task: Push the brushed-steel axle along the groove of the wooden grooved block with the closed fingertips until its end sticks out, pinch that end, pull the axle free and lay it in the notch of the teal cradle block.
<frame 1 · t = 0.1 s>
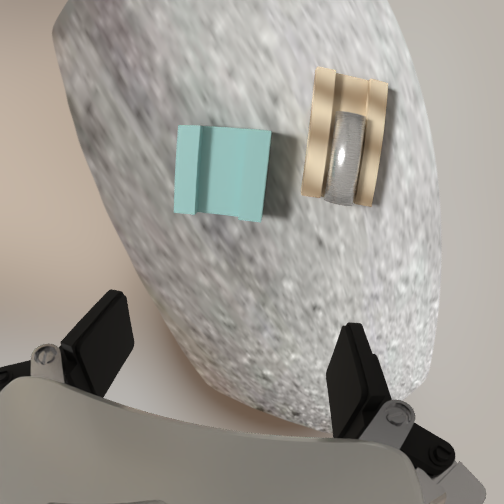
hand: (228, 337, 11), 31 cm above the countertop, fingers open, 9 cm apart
cradle: (225, 169, 39), on the countertop
wooden grooved block: (343, 136, 35), on the countertop
axle: (342, 157, 36), point 1 cm above the countertop, touching wooden grooved block
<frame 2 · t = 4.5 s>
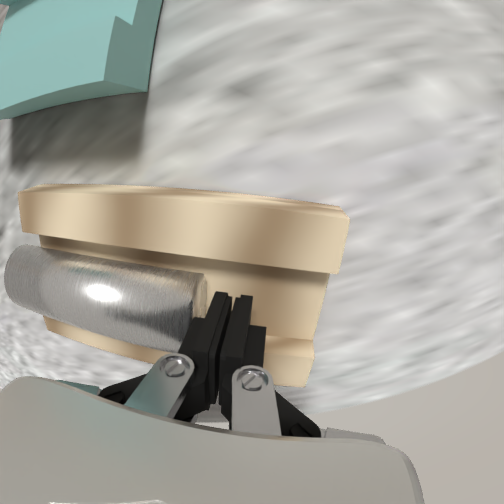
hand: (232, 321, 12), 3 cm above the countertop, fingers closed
cradle: (77, 18, 10), on the countertop
wooden grooved block: (160, 274, 16), on the countertop
axle: (109, 272, 15), point 1 cm above the countertop, tilted 8°, touching wooden grooved block, gripper
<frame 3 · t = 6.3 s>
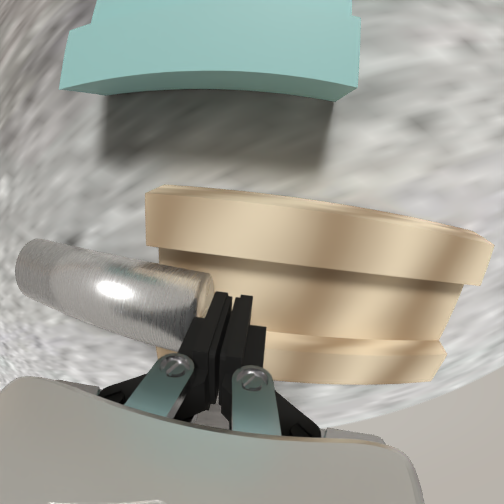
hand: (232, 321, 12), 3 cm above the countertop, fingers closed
wooden grooved block: (322, 292, 15), on the countertop
axle: (118, 268, 15), point 1 cm above the countertop, tilted 11°, touching gripper
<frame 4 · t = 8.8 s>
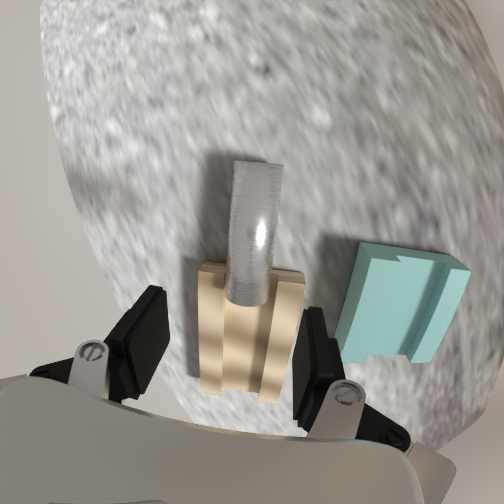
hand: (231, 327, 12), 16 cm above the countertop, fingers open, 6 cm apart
cradle: (395, 299, 28), on the countertop
wooden grooved block: (246, 337, 32), on the countertop
axle: (257, 228, 26), on the countertop, tilted 10°, touching wooden grooved block
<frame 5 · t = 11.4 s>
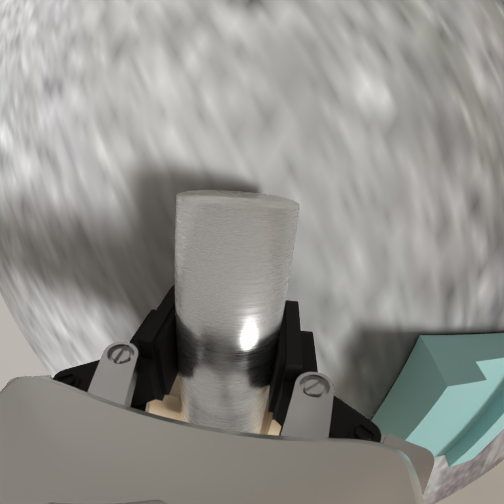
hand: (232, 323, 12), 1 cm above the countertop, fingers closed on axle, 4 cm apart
cradle: (447, 396, 15), on the countertop
wooden grooved block: (227, 445, 18), on the countertop
axle: (235, 323, 13), on the countertop, tilted 5°, touching wooden grooved block, gripper
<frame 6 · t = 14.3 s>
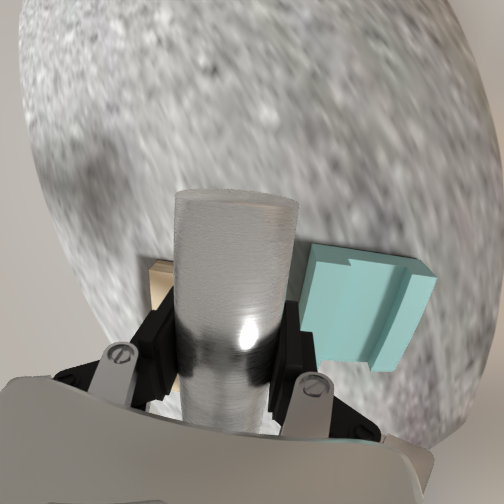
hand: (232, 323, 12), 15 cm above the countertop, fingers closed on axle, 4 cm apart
cradle: (355, 304, 28), on the countertop
wooden grooved block: (202, 335, 32), on the countertop
axle: (234, 322, 13), point 14 cm above the countertop, tilted 5°, touching gripper
when the fingers open (5 cm above the countertop, at t = 17.4 s): axle drops 2 cm, resting on cradle.
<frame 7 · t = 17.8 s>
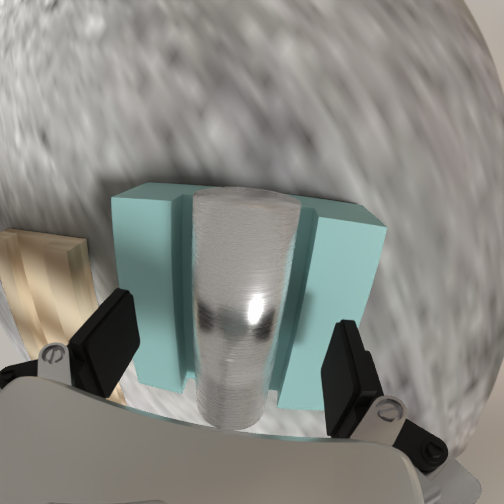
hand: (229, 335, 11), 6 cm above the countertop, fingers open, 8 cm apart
cradle: (243, 289, 17), on the countertop
wooden grooved block: (63, 327, 21), on the countertop
axle: (239, 304, 15), point 2 cm above the countertop, touching cradle
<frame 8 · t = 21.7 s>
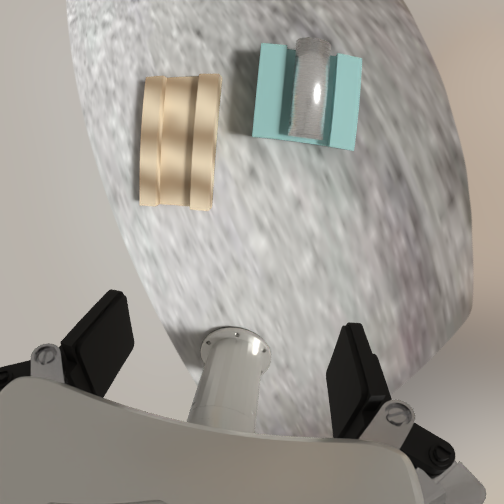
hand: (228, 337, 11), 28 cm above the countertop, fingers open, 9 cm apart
cradle: (305, 98, 32), on the countertop
wooden grooved block: (180, 140, 35), on the countertop
axle: (308, 91, 29), point 2 cm above the countertop, touching cradle
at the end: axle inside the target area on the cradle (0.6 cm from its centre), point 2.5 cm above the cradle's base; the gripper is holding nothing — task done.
